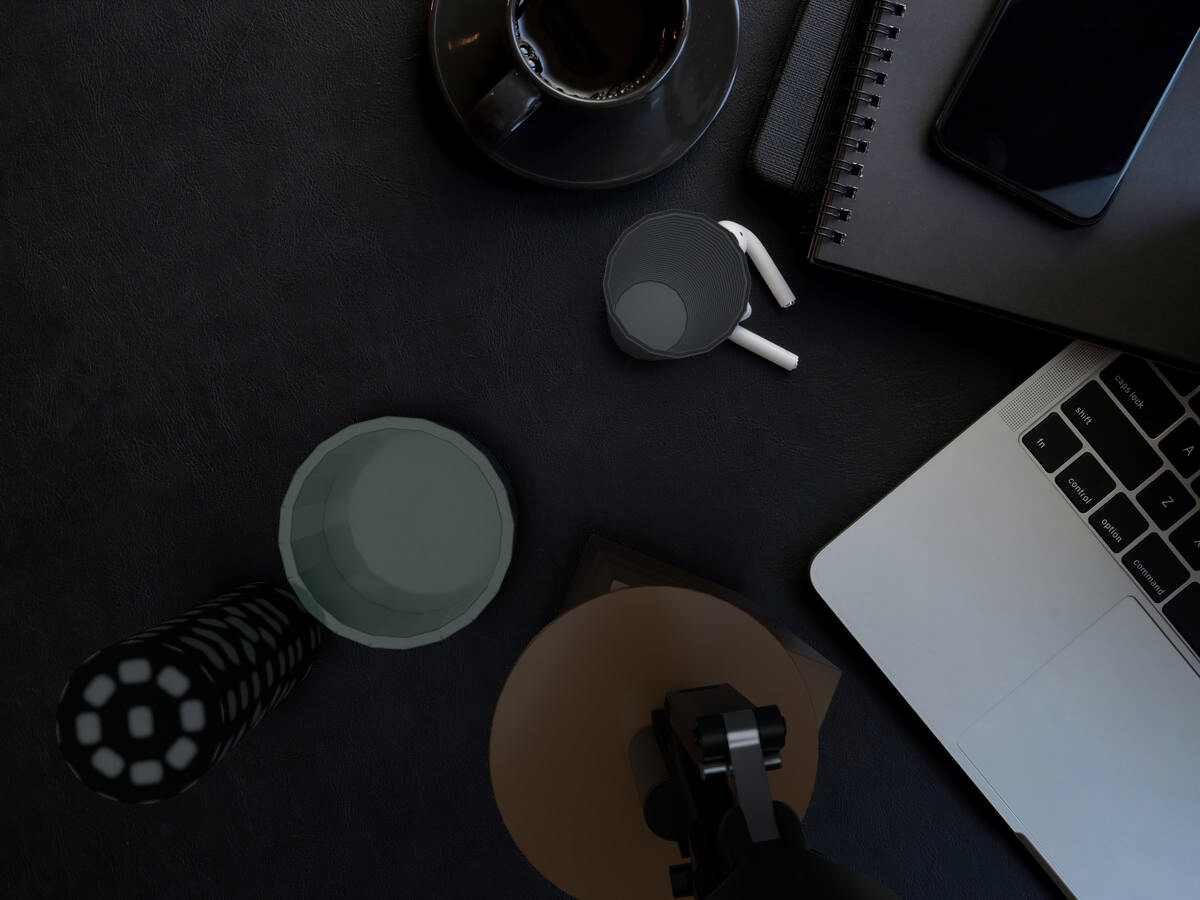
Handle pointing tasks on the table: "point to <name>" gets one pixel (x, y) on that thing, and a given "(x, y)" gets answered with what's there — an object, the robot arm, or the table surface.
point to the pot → (398, 531)
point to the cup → (675, 286)
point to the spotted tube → (183, 692)
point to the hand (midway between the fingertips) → (685, 750)
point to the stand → (626, 567)
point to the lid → (629, 733)
